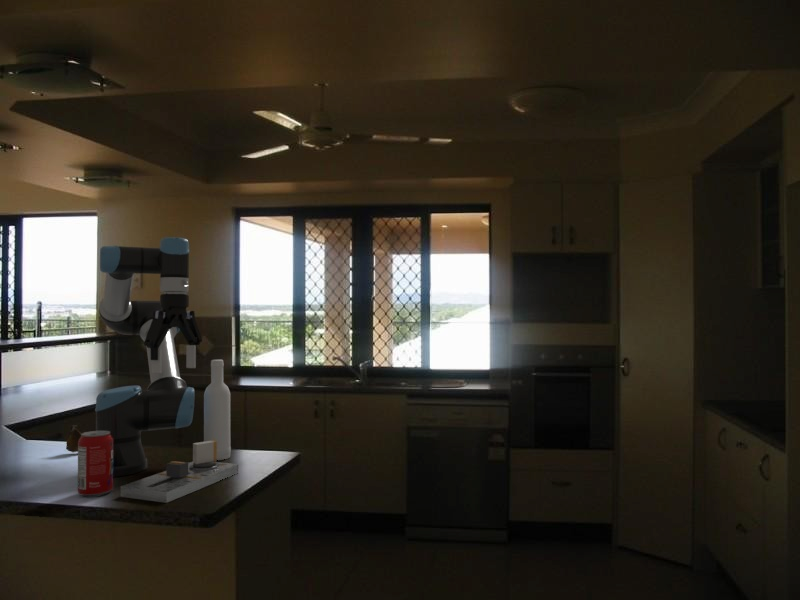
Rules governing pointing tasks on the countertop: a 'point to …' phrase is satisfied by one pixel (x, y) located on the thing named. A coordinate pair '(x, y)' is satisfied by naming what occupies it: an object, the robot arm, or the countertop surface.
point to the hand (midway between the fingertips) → (174, 370)
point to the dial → (204, 454)
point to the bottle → (217, 411)
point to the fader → (176, 469)
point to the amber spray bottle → (73, 439)
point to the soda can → (95, 463)
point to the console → (177, 483)
